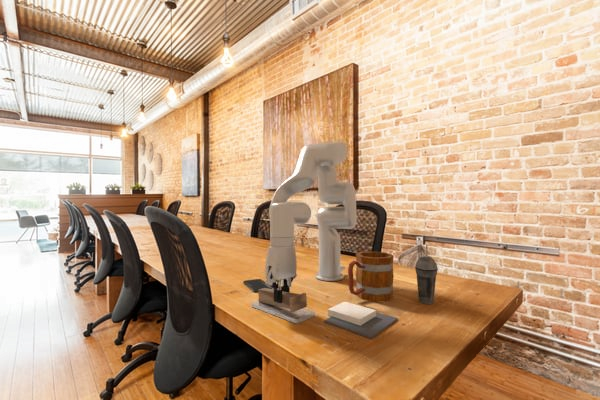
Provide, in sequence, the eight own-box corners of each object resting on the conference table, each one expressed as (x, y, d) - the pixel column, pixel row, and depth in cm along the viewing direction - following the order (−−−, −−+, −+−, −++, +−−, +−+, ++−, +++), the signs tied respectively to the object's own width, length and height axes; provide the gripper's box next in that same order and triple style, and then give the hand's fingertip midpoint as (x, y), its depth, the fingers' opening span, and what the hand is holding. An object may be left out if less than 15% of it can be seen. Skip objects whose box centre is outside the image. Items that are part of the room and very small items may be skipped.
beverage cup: (436, 299, 105) (437, 242, 105) (438, 306, 98) (439, 246, 98) (414, 297, 107) (414, 241, 107) (415, 304, 100) (415, 244, 100)
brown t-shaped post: (268, 298, 102) (268, 286, 102) (306, 306, 91) (306, 293, 91) (254, 303, 97) (253, 290, 97) (292, 312, 86) (292, 298, 86)
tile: (344, 301, 96) (376, 310, 88) (344, 307, 96) (376, 316, 88) (327, 309, 89) (360, 319, 82) (327, 315, 89) (360, 326, 82)
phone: (260, 278, 129) (273, 288, 115) (260, 281, 129) (273, 290, 115) (242, 280, 125) (253, 290, 112) (242, 283, 125) (253, 293, 112)
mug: (372, 287, 118) (372, 250, 118) (401, 297, 107) (401, 255, 107) (335, 297, 107) (335, 255, 107) (364, 309, 96) (364, 262, 96)
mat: (353, 307, 98) (353, 305, 98) (397, 319, 88) (397, 317, 88) (323, 322, 86) (323, 320, 86) (371, 338, 76) (371, 336, 76)
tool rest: (269, 300, 104) (269, 296, 104) (314, 315, 90) (314, 311, 90) (251, 306, 98) (251, 303, 98) (296, 324, 84) (296, 319, 84)
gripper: (290, 238, 102) (290, 292, 102) (254, 243, 90) (253, 304, 90) (307, 240, 97) (307, 297, 97) (271, 246, 85) (270, 310, 85)
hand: (281, 300), depth 94 cm, fingers closed on brown t-shaped post, 2 cm apart
